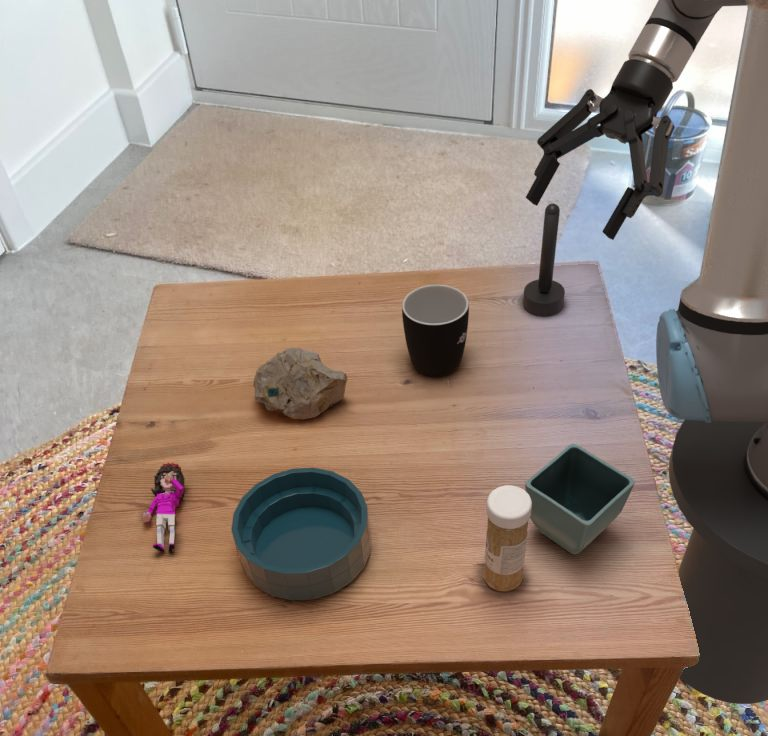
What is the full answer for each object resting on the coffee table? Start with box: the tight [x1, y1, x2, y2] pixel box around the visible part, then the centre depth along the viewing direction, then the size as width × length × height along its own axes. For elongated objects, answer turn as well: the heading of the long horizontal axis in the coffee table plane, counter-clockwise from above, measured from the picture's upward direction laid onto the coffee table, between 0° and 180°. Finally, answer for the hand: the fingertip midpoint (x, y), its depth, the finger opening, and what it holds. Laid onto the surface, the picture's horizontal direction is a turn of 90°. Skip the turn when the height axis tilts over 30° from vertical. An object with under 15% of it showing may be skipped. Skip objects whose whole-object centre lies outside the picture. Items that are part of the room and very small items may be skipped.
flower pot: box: [524, 443, 636, 555], centre depth 96 cm, size 9×9×9 cm
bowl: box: [231, 467, 372, 601], centre depth 98 cm, size 15×15×6 cm
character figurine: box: [141, 462, 185, 554], centre depth 103 cm, size 6×5×12 cm
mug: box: [401, 284, 470, 378], centre depth 117 cm, size 12×9×10 cm
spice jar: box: [482, 484, 532, 592], centre depth 90 cm, size 5×5×14 cm
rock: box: [252, 347, 348, 420], centre depth 113 cm, size 12×7×10 cm, turn 76°
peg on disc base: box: [522, 203, 566, 317], centre depth 121 cm, size 6×6×16 cm
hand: (568, 218), depth 119 cm, fingers open, 13 cm apart
